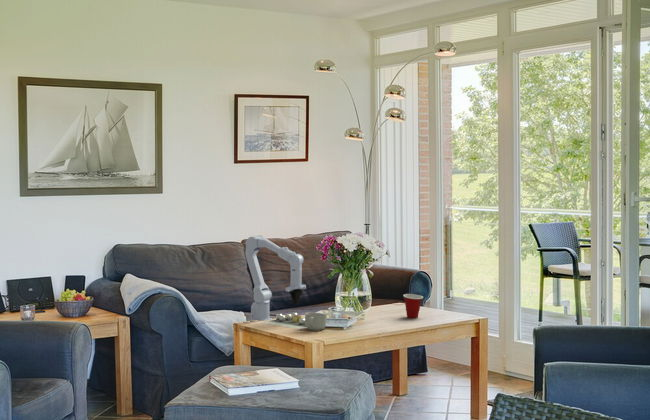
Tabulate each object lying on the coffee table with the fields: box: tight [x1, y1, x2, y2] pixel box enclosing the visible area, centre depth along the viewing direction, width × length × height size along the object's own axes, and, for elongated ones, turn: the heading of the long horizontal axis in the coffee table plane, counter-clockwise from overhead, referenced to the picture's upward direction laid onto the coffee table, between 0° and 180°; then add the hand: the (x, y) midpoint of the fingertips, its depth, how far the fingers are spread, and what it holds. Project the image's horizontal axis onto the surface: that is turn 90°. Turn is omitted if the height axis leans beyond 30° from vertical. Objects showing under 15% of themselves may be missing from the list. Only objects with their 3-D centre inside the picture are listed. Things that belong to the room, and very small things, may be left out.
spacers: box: [275, 312, 305, 325], centre depth 442 cm, size 24×13×3 cm, turn 53°
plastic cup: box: [403, 293, 424, 319], centre depth 461 cm, size 11×11×12 cm
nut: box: [292, 314, 302, 323], centre depth 441 cm, size 5×4×3 cm
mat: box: [262, 319, 307, 330], centre depth 438 cm, size 24×20×1 cm
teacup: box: [304, 312, 328, 332], centre depth 422 cm, size 14×11×8 cm
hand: (295, 303), depth 440 cm, fingers closed
